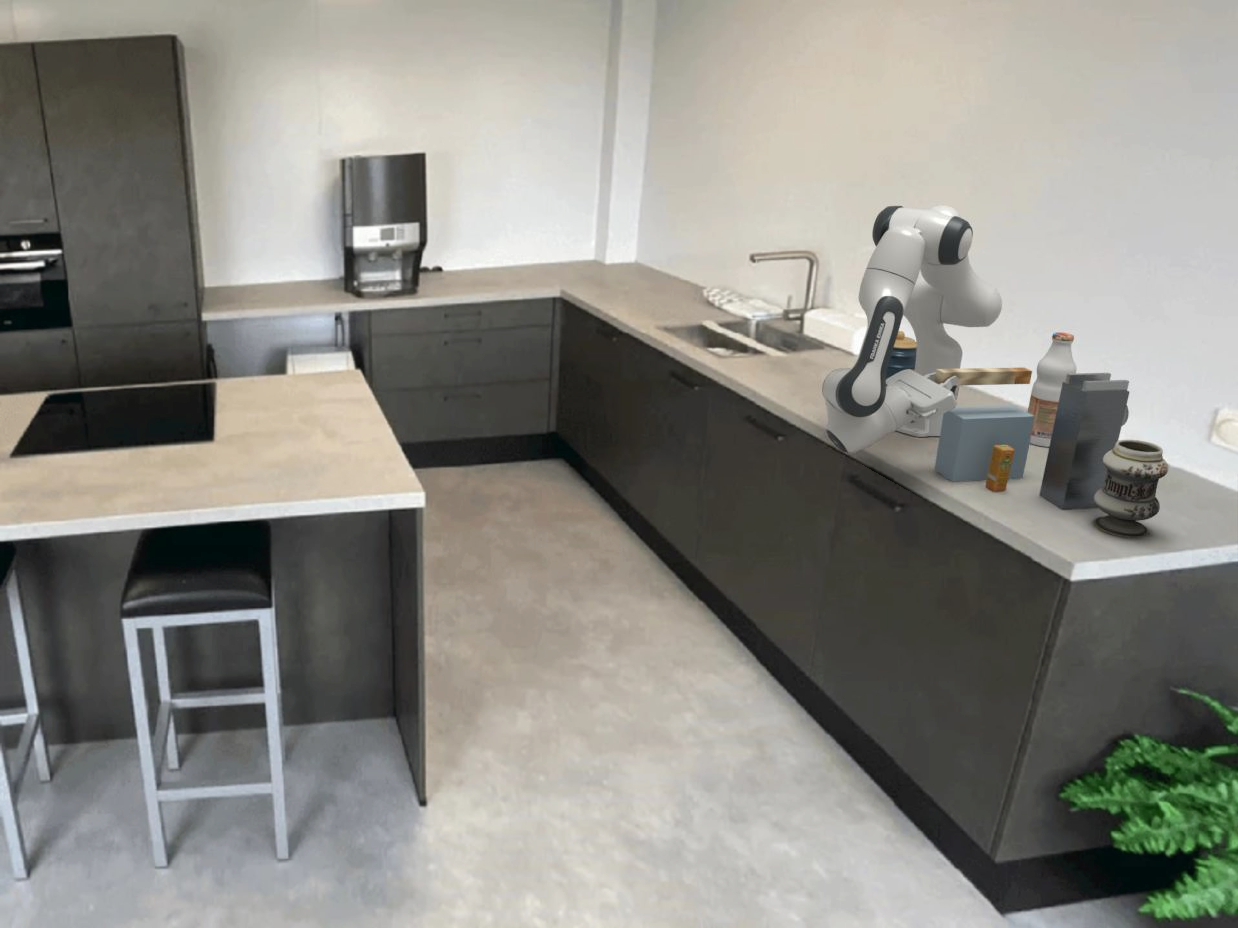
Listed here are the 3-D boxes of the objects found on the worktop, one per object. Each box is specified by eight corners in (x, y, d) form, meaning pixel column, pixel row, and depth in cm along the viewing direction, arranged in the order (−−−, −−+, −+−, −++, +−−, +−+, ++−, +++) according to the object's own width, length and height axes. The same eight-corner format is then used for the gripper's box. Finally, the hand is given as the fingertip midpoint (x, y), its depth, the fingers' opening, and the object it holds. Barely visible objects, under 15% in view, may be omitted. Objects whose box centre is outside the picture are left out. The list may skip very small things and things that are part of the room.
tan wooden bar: (941, 385, 217) (943, 372, 216) (934, 382, 219) (936, 369, 218) (1029, 383, 222) (1032, 371, 221) (1021, 380, 224) (1024, 367, 223)
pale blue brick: (952, 481, 224) (963, 419, 218) (934, 469, 231) (944, 408, 225) (1022, 478, 227) (1035, 416, 222) (1002, 465, 235) (1014, 405, 229)
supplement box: (994, 492, 219) (1002, 449, 215) (984, 486, 222) (992, 444, 218) (1007, 491, 219) (1015, 449, 216) (997, 485, 223) (1005, 443, 219)
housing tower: (1062, 509, 211) (1089, 383, 201) (1039, 495, 218) (1064, 372, 208) (1110, 506, 213) (1140, 382, 203) (1086, 492, 221) (1113, 371, 211)
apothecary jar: (1113, 512, 211) (1132, 432, 204) (1166, 534, 201) (1187, 451, 194) (1075, 521, 205) (1094, 439, 199) (1127, 544, 195) (1148, 459, 189)
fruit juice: (1014, 437, 255) (1034, 330, 245) (1043, 434, 258) (1064, 329, 249) (1040, 449, 247) (1062, 339, 237) (1069, 446, 250) (1093, 338, 240)
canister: (907, 398, 284) (916, 338, 278) (864, 390, 291) (871, 331, 284) (920, 388, 295) (929, 330, 289) (877, 380, 301) (885, 324, 295)
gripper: (915, 409, 207) (972, 376, 207) (871, 382, 226) (923, 352, 226) (925, 433, 210) (981, 400, 210) (880, 404, 228) (932, 374, 228)
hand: (951, 375), depth 218 cm, fingers closed on tan wooden bar, 3 cm apart
